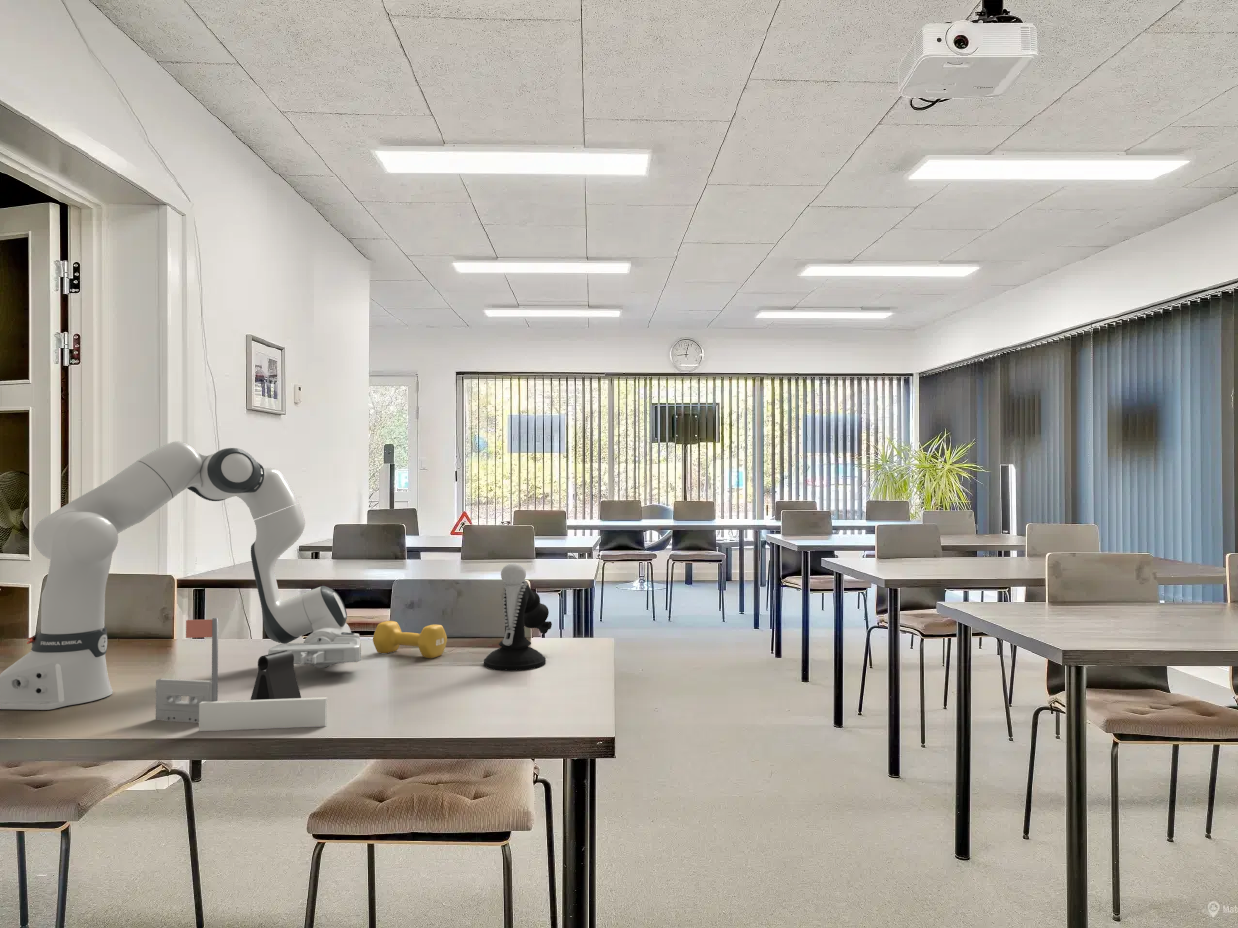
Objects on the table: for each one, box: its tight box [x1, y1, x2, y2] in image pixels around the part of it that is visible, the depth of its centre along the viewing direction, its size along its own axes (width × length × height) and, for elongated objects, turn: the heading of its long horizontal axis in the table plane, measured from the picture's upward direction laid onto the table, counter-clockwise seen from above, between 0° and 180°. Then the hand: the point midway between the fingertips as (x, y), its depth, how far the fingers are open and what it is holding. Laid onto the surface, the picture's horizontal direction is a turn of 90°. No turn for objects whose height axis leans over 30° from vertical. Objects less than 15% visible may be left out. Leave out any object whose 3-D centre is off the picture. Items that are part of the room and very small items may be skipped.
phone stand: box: [249, 650, 302, 700], centre depth 156 cm, size 9×6×12 cm, turn 64°
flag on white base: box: [185, 617, 328, 732], centre depth 154 cm, size 25×14×20 cm, turn 98°
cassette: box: [155, 678, 212, 724], centre depth 153 cm, size 12×2×8 cm, turn 80°
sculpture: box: [483, 562, 553, 672], centre depth 204 cm, size 15×24×25 cm, turn 157°
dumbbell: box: [372, 620, 448, 659], centre depth 211 cm, size 19×9×8 cm, turn 66°
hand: (307, 660), depth 179 cm, fingers closed
